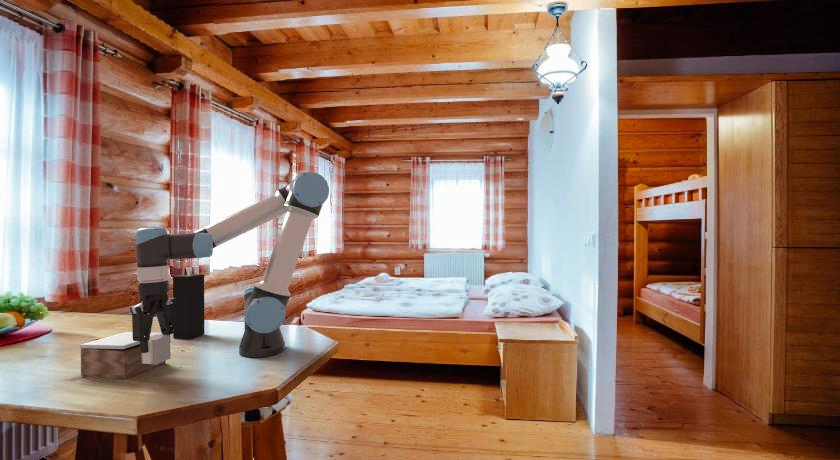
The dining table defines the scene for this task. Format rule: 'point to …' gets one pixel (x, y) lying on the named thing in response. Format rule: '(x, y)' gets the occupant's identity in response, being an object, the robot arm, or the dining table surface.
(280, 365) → the dining table surface
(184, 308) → the tall black column
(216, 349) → the dining table surface
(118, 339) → the lid
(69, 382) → the dining table surface
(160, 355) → the stone block
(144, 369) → the box
